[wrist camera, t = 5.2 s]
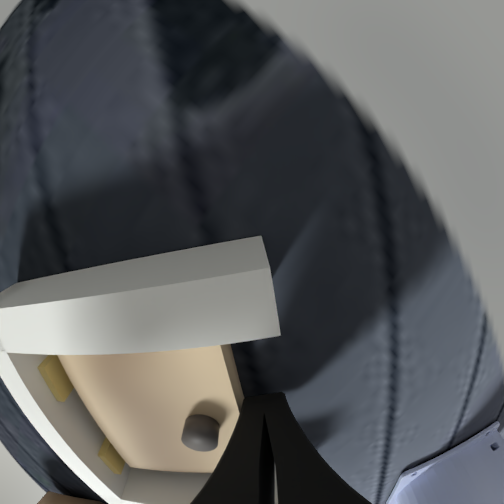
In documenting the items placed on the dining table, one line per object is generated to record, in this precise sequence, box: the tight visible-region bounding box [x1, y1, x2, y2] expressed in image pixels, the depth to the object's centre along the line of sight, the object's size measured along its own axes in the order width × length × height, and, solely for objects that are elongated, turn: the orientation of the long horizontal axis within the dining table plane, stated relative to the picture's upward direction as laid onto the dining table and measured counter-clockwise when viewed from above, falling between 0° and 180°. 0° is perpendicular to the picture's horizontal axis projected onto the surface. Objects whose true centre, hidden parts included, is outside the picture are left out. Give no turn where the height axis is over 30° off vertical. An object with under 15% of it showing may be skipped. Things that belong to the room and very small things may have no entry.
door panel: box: [58, 344, 244, 473], centre depth 9 cm, size 6×7×3 cm
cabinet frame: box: [0, 236, 281, 504], centre depth 8 cm, size 10×12×3 cm
